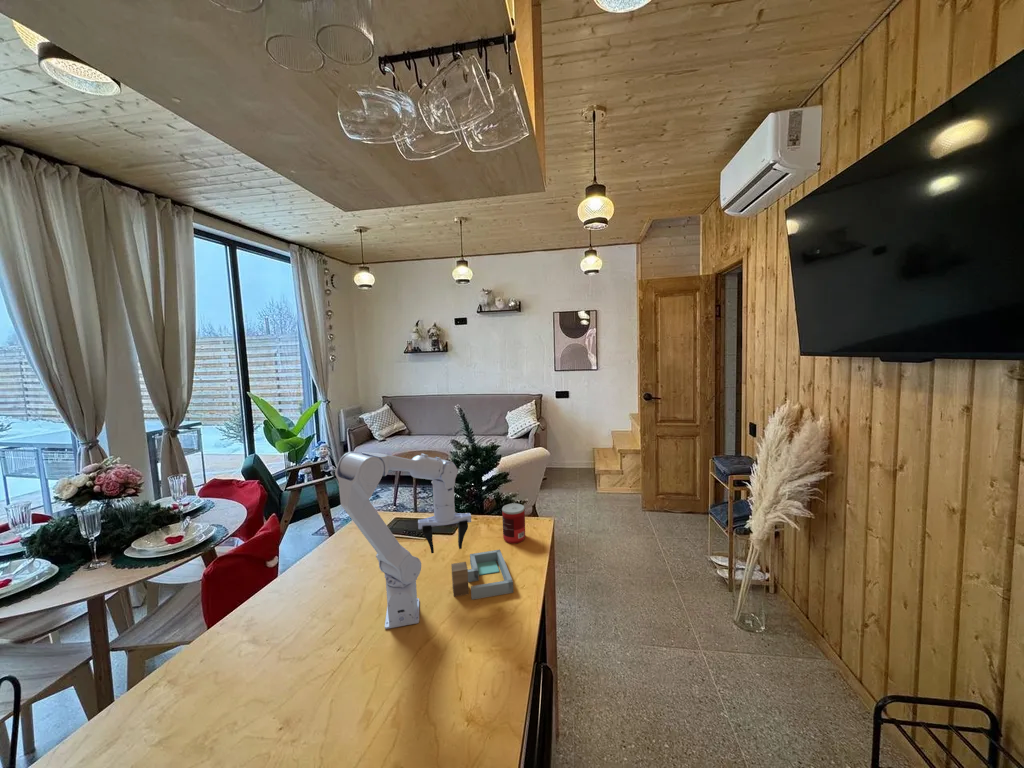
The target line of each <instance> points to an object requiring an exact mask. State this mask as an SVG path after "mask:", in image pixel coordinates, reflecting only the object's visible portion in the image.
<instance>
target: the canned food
mask: <svg viewBox="0 0 1024 768" xmlns="http://www.w3.org/2000/svg"><path fill="white" fill-rule="evenodd" d="M501 511H502V512H501V513H502V537H503V540H504V541H505V542H506V543H508V544H520V543H521V542H523V541H524V540H525V538H526V516H525V514H526V512H525V505H523V504H520V503H515V502H514V503H508V504H505V505H503V506H502V509H501Z"/></svg>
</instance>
